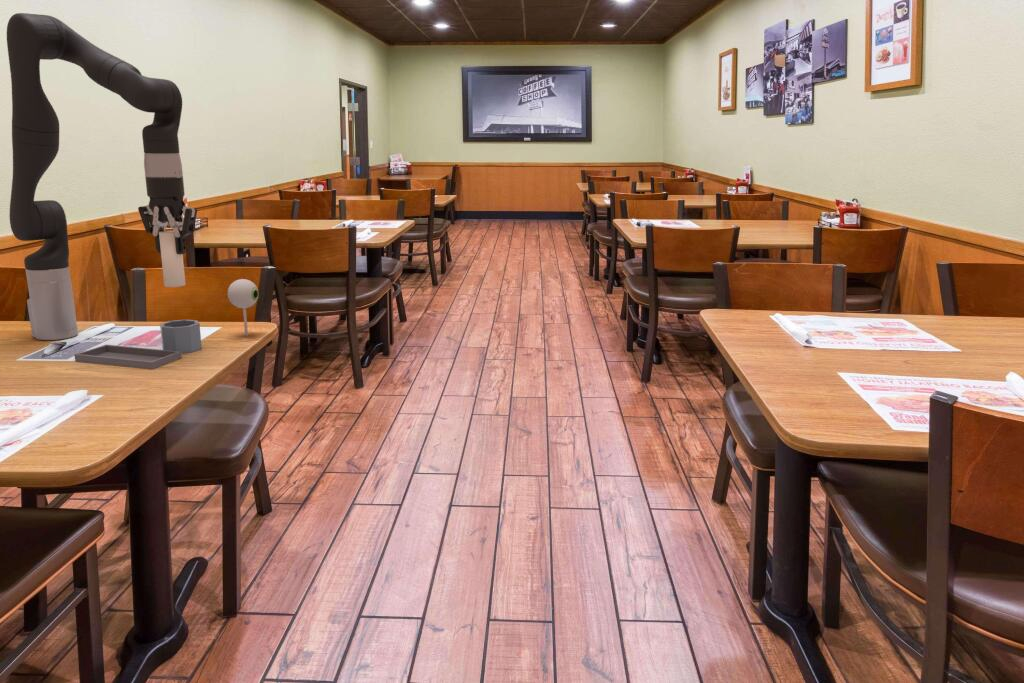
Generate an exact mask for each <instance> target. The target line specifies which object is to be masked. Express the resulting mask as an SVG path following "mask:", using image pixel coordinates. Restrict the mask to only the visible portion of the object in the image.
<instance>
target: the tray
mask: <svg viewBox="0 0 1024 683" xmlns="http://www.w3.org/2000/svg"><path fill="white" fill-rule="evenodd" d="M181 359H182V354H181V352H180V351H170V350H163V349H158V348H148V347H137V346H125V345H115V344H104V345H100V346H98V347H94V348H91V349H88V350H84V351H82V352H78V353H75V354H74V361H75V362H79V363H87V364H96V365H104V366H105V365H109V366H119V367H128V368H133V369H135V368H136V369H137V368H138V369H144V370H155V369H158V368H160V367H163V366H165V365H169V364H170V363H173V362H175V361H178V360H181Z"/></svg>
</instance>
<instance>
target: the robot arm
mask: <svg viewBox="0 0 1024 683" xmlns="http://www.w3.org/2000/svg"><path fill="white" fill-rule="evenodd" d="M6 46H7V54H8V64H9V71H10V80H11V105H12V106H11V107H12V108H11V109H12V110H11V111H12V114H11V115H12V116H11V144H12V146H11V148H12V180H11V191H10V192H11V194H10V201H9V224H10V231H11V232H12V234H13V235H14V237H15V238H16V239H17V240H19V241H21V242H33V241H42V240H44V243H43V245H42V246H41V247H40V248H39V249H38V250H35V252H32V253H30V254H28V255H26V256H24V260H23V262H24V269H25V276H26V283H27V288H28V294H29V298H27V300H26V305H27V311H28V317H29V318H28V319H29V325H30V331H31V336H32V338H35V339H37V340H39V341H56V340H58V341H59V340H64V339H65V340H66V339H68V338H69V339H71V338H72V337H75V336H77V335H78V334H79V332H78V324H77V316H76V307H75V301H74V300H75V299H74V294H73V293H74V292H73V287H72V277H71V271H70V264H69V258H70V250H69V249H70V248H69V247H70V246H69V236H68V235H69V234H68V222H67V216H66V213H65V212H66V211H65V210H64V208H63V206H62V204H61V203H59V202H58V201H57V200H48V199H45V200H35V195H36V190H37V186H38V184H39V182H40V180H41V179H42V178H43V175H45V173H46V171H48V170H49V167H50V166H51V165H52V163H53V162H54V160H55V159H56V157H57V155H58V153H59V150H60V149H59V148H60V120H59V118H58V114H57V112H56V111H55V109H54V106H53V105H52V103H51V102H50V101H49V98H48V96H47V95H46V93H45V91H44V88H43V87H42V82H41V72H40V69H41V67H40V63H41V60H43V61H45V60H46V61H47V60H49V61H51V60H61V61H64V62H68V63H70V64H71V63H72V64H74V65H77V66H78V67H80V68H82V70H83V71H84V73H85V74H86V76H88V78H90V79H91V80H92V81H93V83H96V84H97V85H99V86H101V87H103V88H104V89H107V90H108V91H110V92H112V93H114V94H117V95H118V96H119V97H121V99H123V100H124V101H125V103H126V102H127V104H129V105H130V106H132V107H133V108H134V109H136V110H139V111H141V112H146V113H154V114H153V120H152V123H151V124H147V125H145V126H144V127H143V128H142V131H141V133H142V134H141V135H142V145H143V168H144V176H145V177H144V178H145V187H146V188H145V189H146V195H147V197H149V201H148V204H147V205H143V206H141V205H140V206H139V207H137V210H138V213H139V215H140V219H141V222H142V224H143V227H144V230H145V232H146V233H147V234H151V235H152V236H153V237H154V241H155V242H154V243H155V250H156V251H157V253H158V254H161V248H160V239H159V232H161V231H166V228H167V226H168V225H169V226H170V227H171V228H172V231H174V233H175V236H176V237H177V238H175V244H176V253H177V254H183V255H184V254H186V252H187V250H188V247H187V236H189V235H192V234H194V232H195V225H196V220H197V216H198V215H197V214H198V209H197V208H196V207H189V206H187V205H186V203H185V202H184V196H185V185H184V184H185V182H184V172H183V164H182V159H181V154H180V146H179V145H180V143H179V137H178V134H179V129H180V124H181V117H182V111H183V96H182V94H181V90H180V88H179V86H177V84H176V83H175V82H173V80H169V79H164V78H155V77H148V76H145V75H142V72H141V71H140V70H139V68H137V67H135V66H134V65H132V64H131V63H129V62H127V61H125V60H123V59H121V58H119V57H117V56H115V55H113V54H111V53H109V52H107V51H106V50H104V49H101V48H100V47H98V46H97V45H95V44H94V43H92V42H91V41H89V40H87V39H86V38H85V37H83V36H82V35H81V34H79V32H76V31H75V30H74V29H73V28H71V27H70V26H69V25H68V24H66V23H65V22H64V21H62V20H60V19H59V18H57V17H54V16H52V15H46V14H40V13H39V14H37V13H28V12H27V13H26V12H25V13H24V12H22V13H21V12H18V13H14V14H13V15H12V16H11V17H10V18H9V19H8V22H7V26H6ZM168 223H169V224H168Z"/></svg>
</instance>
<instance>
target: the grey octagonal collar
mask: <svg viewBox="0 0 1024 683" xmlns="http://www.w3.org/2000/svg"><path fill="white" fill-rule="evenodd" d="M200 326H201V325H200V322H199V320H195V319H177V320H176V319H175V320H168V321H166V322H161V323H160V324H159V327H160V328H159V329H160V337H161V338H160V339H161V347H162V350H170V351H180V352H181V355H182V354H192V353H195V352H198V351H200V350H202V349H203V348H202V337H201V335H202V334H201V327H200Z"/></svg>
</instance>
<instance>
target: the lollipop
mask: <svg viewBox="0 0 1024 683" xmlns="http://www.w3.org/2000/svg"><path fill="white" fill-rule="evenodd" d="M259 295H260V294H259V289H258V287H257V285H256V284H255V283H254V282H253V281H251V280H249V279H245V278H240V279H236V280H235V281H233V282H232V283H231V284H230V285H229V286H228V288H227V297H228V300H229V302H230V303H231V304H232V305H233V306H235V307H236V308H238V309H242V313H243V316H242V317H243V325H244V327H243V328H244V329H243V330H244V336H246V337H247V336H249V332H248V320H247V309H248V308H251V307H252V306H254V305H255V304H256V302H257V301H258V300H259Z"/></svg>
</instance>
